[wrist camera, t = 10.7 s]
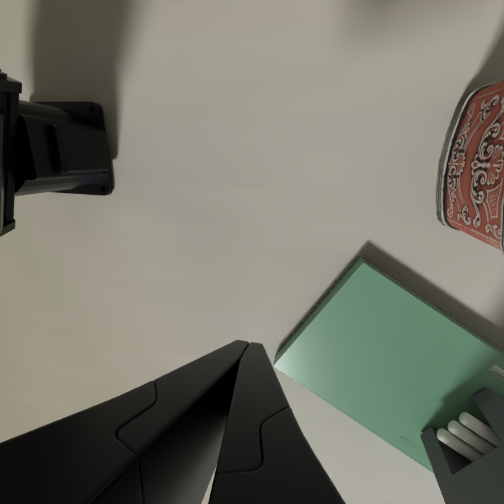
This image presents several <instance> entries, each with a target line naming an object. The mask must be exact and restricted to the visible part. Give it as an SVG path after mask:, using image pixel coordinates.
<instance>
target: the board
mask: <svg viewBox="0 0 504 504" xmlns="http://www.w3.org/2000/svg"><path fill="white" fill-rule="evenodd" d="M273 366H274V367H275V368H277V369H278V370H280V371H281V372H283V373H284V374H286V375H287V376H289V377H290V378H292V379H293V380H295V381H296V382H298V383H299V384H301V385H302V386H304V387H305V388H307V389H308V390H310V391H311V392H313V393H314V394H316V395H317V396H319V397H320V398H322V399H323V400H325V401H326V402H328V403H329V404H331V405H332V406H334V407H335V408H337V409H338V410H340V411H341V412H343V413H344V414H346V415H347V416H349V417H350V418H352V419H353V420H355V421H356V422H358V423H359V424H361V425H362V426H364V427H365V428H367V429H368V430H370V431H371V432H373V433H374V434H376V435H377V436H379V437H380V438H382V439H383V440H385V441H386V442H388V443H389V444H391V445H392V446H394V447H395V448H397V449H398V450H400V451H401V452H403V453H404V454H406V455H407V456H409V457H410V458H412V459H413V460H415V461H416V462H418V463H419V464H421V465H422V466H424V467H425V468H427V469H428V470H430V471H431V472H433V473H434V471H433V469H432V466H431V464H430V461H429V458H428V456H427V453H426V450H425V448H424V445H423V442H422V440H421V437H420V435H421V434H422V433H423V432H425V431H426V430H427V429H429V428H430V427H433V428H434V429H436V430H437V431H438V430H439V429H440V428H443V429H445V430H447V431H448V432H450V431H449V430H448V423H449V422H450V421H452V420H454V421H456V422H458V423H459V424H461V425H462V426H464V427H465V428H467V429H468V430H470V431H471V432H473V433H474V434H476V435H477V436H479V437H480V438H482V439H483V440H485V441H486V442H488V443H489V444H491V445H492V446H494V447H495V448H497V447H496V446H495V445H493V444H492V443H490V442H489V441H487V440H486V439H484V438H483V437H481V436H480V435H478V434H477V433H475V432H474V431H472V430H471V429H469V428H468V427H466V426H465V425H463V424H462V423H461V422H460V420H459V416H460V414H461V413H463V412H467V413H469V414H470V415H472V416H473V417H475V418H476V419H478V420H479V421H481V422H482V423H484V424H485V425H487V426H488V427H490V428H491V429H493V428H492V427H491V425H490V424H489V422H488V421H487V419H486V418H485V416H484V415H483V413H482V412H481V410H480V409H479V407H478V406H477V404H476V403H475V401H474V399H473V398H472V397H473V396H474V395H476V394H477V393H478V392H480V391H481V390H483V389H484V388H485V387H487V388H488V389H490V390H491V391H493V392H494V393H496V394H497V395H499V396H500V397H502V398H503V399H504V352H503V351H501V350H500V349H498V348H497V347H495V346H494V345H492V344H491V343H489V342H488V341H486V340H485V339H483V338H482V337H480V336H479V335H477V334H476V333H474V332H473V331H471V330H470V329H468V328H467V327H465V326H464V325H462V324H461V323H459V322H458V321H456V320H455V319H453V318H452V317H450V316H449V315H447V314H446V313H444V312H443V311H441V310H440V309H438V308H437V307H435V306H434V305H432V304H431V303H429V302H428V301H426V300H425V299H423V298H422V297H420V296H419V295H417V294H416V293H414V292H413V291H411V290H410V289H408V288H407V287H405V286H404V285H402V284H401V283H399V282H398V281H396V280H395V279H393V278H392V277H390V276H389V275H387V274H386V273H384V272H383V271H381V270H380V269H378V268H377V267H375V266H374V265H372V264H371V263H369V262H368V261H366V260H365V259H363V258H362V257H360V258H359V259H358V260H357V261H356V263H355V264H354V265H353V266H352V267H351V268H350V270H349V271H348V272H347V273H346V274H345V275H344V277H343V278H342V279H341V280H340V281H339V282H338V284H337V285H336V286H335V287H334V288H333V289H332V291H331V292H330V293H329V294H328V295H327V296H326V298H325V299H324V300H323V301H322V302H321V303H320V305H319V306H318V307H317V308H316V309H315V310H314V312H313V313H312V314H311V315H310V316H309V317H308V319H307V320H306V321H305V322H304V323H303V324H302V326H301V327H300V328H299V329H298V330H297V331H296V333H295V334H294V335H293V336H292V337H291V338H290V340H289V341H288V342H287V343H286V344H285V345H284V347H283V348H282V349H281V350H280V351H279V352H278V354H277V355H276V356H275V360H274V365H273ZM450 433H451V432H450ZM451 434H453V433H451ZM453 435H454V434H453ZM454 436H456V435H454ZM456 437H457V436H456ZM457 438H459V437H457ZM459 439H460V438H459ZM460 440H462V439H460ZM462 441H463V440H462ZM463 442H465V441H463ZM465 443H466V442H465ZM466 444H468V443H466ZM468 445H469V444H468ZM469 446H471V445H469ZM471 447H472V446H471ZM472 448H474V447H472ZM474 449H475V448H474ZM475 450H477V449H475ZM477 451H478V450H477ZM478 452H480V451H478ZM480 453H481V452H480ZM481 454H483V453H481ZM483 455H484V454H483Z"/></svg>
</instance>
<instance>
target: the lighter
mask: <svg viewBox="0 0 504 504" xmlns="http://www.w3.org/2000/svg"><path fill="white" fill-rule="evenodd" d="M436 215H437V218H438V220H439V221H440V223H441V224H442V225H444V226H446V227H448V228H450V229H452V230H454V231H459V232H465V233H467V234H469V235H471V236H473V237H475V238H477V239H479V240H481V241H483V242H485V243H487V244H489V245H491V246H493V247H495V248H497V249H499V250H501V251H502V252H503V253H504V81H501V82H494V83H489V84H485V85H483V86H480V87H478V88H476V89H474V90H472V91H470V92H468V93H467V94H466V95H465V96H464V97H463V98H461V100H460V102H459V103H458V105H457V107H456V110H455V112H454V115H453V117H452V120H451V123H450V125H449V128H448V131H447V133H446V136H445V140H444V144H443V148H442V152H441V156H440V160H439V164H438V173H437V183H436Z"/></svg>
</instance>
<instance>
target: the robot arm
mask: <svg viewBox="0 0 504 504" xmlns="http://www.w3.org/2000/svg"><path fill="white" fill-rule="evenodd" d="M19 93H22V83H21V82H19V81H17V80H14V79H12V78H10V77H7V74H6V73H4V72H1V69H0V237H1V236H2V235H4V234H6V233H8V232H10V231H11V230H13V229H15V219H13V218H14V196H20V195H28V194H36V193H44V192H57V193H73V194H88V195H110V194H111V193H112V182H111V174H110V166H109V158H108V150H107V142H106V134H105V127H104V119H103V111H102V107H101V106H100V105H99V104H98V103H94V102H28V101H23V100H19ZM94 107H95V113H94V111H93V108H94ZM104 186H105V188H106V191H105V190H104ZM216 465H217V467H216ZM215 467H216V471H215V476H214V480H213V484H212V489H211V494H210V498H209V503H208V504H346V503H345V502H344V500H343V499H342V497H341V495H340V494H339V492H338V491H337V489H336V487H335V486H334V484H333V483H332V481H331V479H330V478H329V476H328V475H327V473H326V471H325V470H324V468H323V467H322V465H321V463H320V462H319V460H318V459H317V457H316V455H315V454H314V452H313V450H312V449H311V447H310V445H309V443H308V442H307V440H306V438H305V437H304V435H303V433H302V431H301V429H300V427H299V425H298V423H297V421H296V419H295V416H294V414H293V412H292V409H291V408H290V406H289V403H288V401H287V399H286V397H285V394H284V392H283V390H282V387H281V385H280V383H279V380H278V378H277V376H276V374H275V371H274V369H273V367H272V364H271V362H270V360H269V358H268V355H267V353H266V351H265V348H264V346H263V344H260V343H254V342H251V343H250V344H249V342H247V341H242V340H236V341H234V342H232V343H230V344H227V345H225V346H223V347H221V348H219V349H217V350H215V351H213V352H211V353H209V354H207V355H205V356H203V357H201V358H199V359H197V360H194V361H192V362H190V363H188V364H186V365H184V366H182V367H180V368H178V369H176V370H174V371H172V372H170V373H168V374H165V375H163V376H161V377H159V378H157V379H155V380H154V381H150V382H148V383H146V384H144V385H142V386H140V387H137V388H135V389H133V390H131V391H129V392H126V393H124V394H122V395H120V396H117V397H115V398H112V399H110V400H108V401H105V402H103V403H100V404H98V405H95V406H93V407H90V408H88V409H85V410H83V411H80V412H78V413H75V414H72V415H70V416H67V417H65V418H62V419H60V420H57V421H55V422H52V423H50V424H47V425H45V426H42V427H39V428H37V429H34V430H32V431H29V432H27V433H24V434H22V435H19V436H17V437H14V438H11V439H9V440H6V441H4V442H1V443H0V504H201V502H202V500H203V497H204V495H205V492H206V490H207V487H208V485H209V482H210V480H211V477H212V475H213V472H214V470H215Z"/></svg>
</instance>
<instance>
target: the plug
mask: <svg viewBox="0 0 504 504" xmlns="http://www.w3.org/2000/svg"><path fill="white" fill-rule="evenodd" d="M472 398H473V399H474V401H475V403H476V404H477V406H478V407H479V409H480V410H481V412H482V413H483V415H484V416H485V418H486V419H487V421H488V422H489V424H490V425H491V427H492V428H493V430H494V431H495V433H496V435H497V436H498V438H499V439H500V441H501V442H502V445H500V446H498V447H497V448H495V449H494V450H492V451H490V452H489V453H487V454H485V455H484V456H482V457H481V458H479V459H477V460H476V461H474V462H472V461H470V460H469V459H467V458H466V457H464V456H463V455H461V454H460V453H458V452H457V451H455V450H454V449H452V448H451V447H449V446H448V445H446V444H445V443H443V442H442V441H440V440H439V439H438V438H437V430H436V429H434V428H433V427H430V428H429V429H427V430H426V431H425V432H423V433H422V434H421V435H420V437H421V440H422V442H423V445H424V448H425V450H426V453H427V456H428V458H429V461H430V464H431V466H432V469H433V471H434V474H435V477H436V479H437V482H438V485H439V487H440V490H441V493H442V495H443V498H444V501H445V503H446V504H504V399H503V398H502V397H500V396H499V395H497V394H496V393H494V392H493V391H491V390H490V389H488V388H487V387H485V388H484V389H483V390H481V391H480V392H478V393H477V394H476V395H474V396H473V397H472Z"/></svg>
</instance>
